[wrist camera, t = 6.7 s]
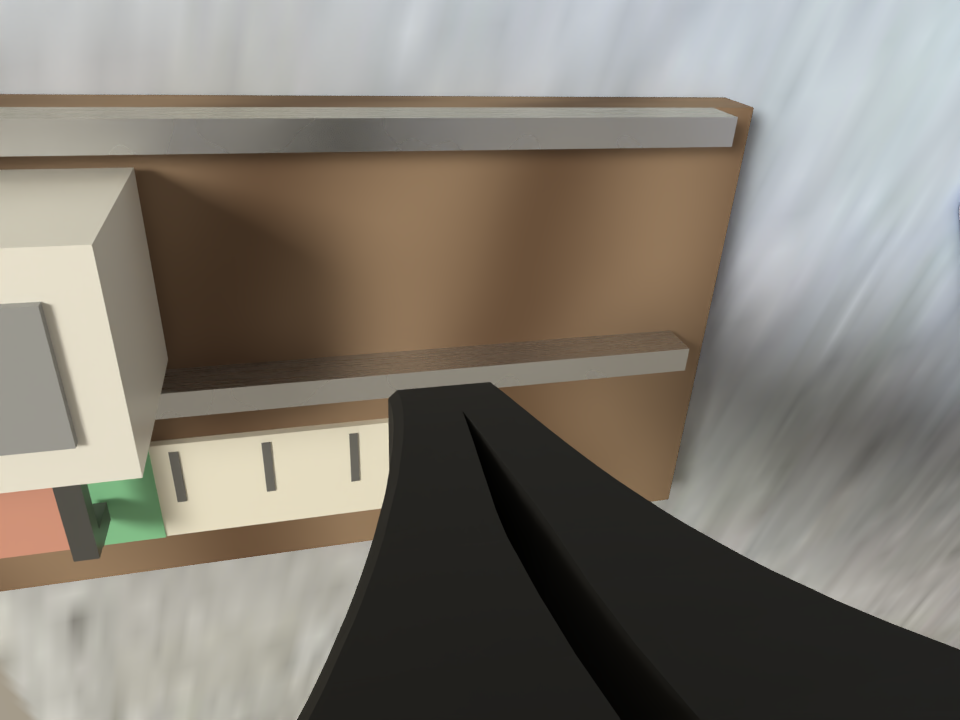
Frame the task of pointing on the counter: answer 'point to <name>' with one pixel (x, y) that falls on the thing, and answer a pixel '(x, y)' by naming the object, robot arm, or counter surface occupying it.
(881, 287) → the counter surface
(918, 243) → the counter surface
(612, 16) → the counter surface
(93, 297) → the gauge carriage
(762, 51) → the counter surface
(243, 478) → the gauge scale
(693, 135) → the anvil and rails
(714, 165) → the gauge bed
